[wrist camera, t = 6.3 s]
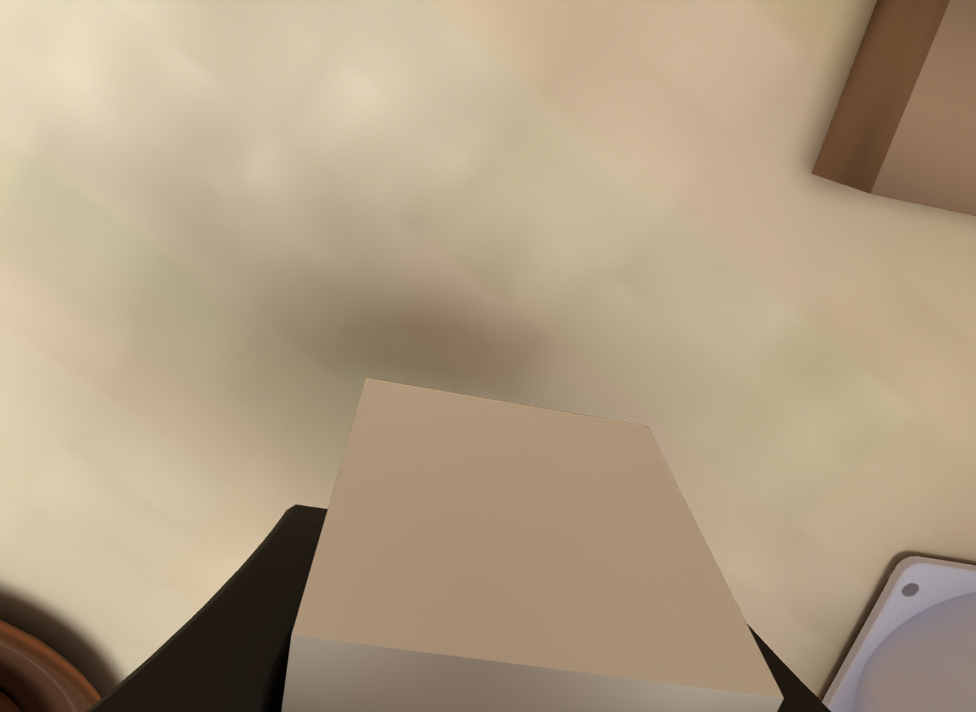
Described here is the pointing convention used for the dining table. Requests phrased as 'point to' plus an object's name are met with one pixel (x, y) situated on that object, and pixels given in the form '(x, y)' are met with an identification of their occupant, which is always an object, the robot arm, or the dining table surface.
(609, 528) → the white block
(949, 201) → the walnut block
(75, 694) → the cup and saucer
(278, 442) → the dining table surface
